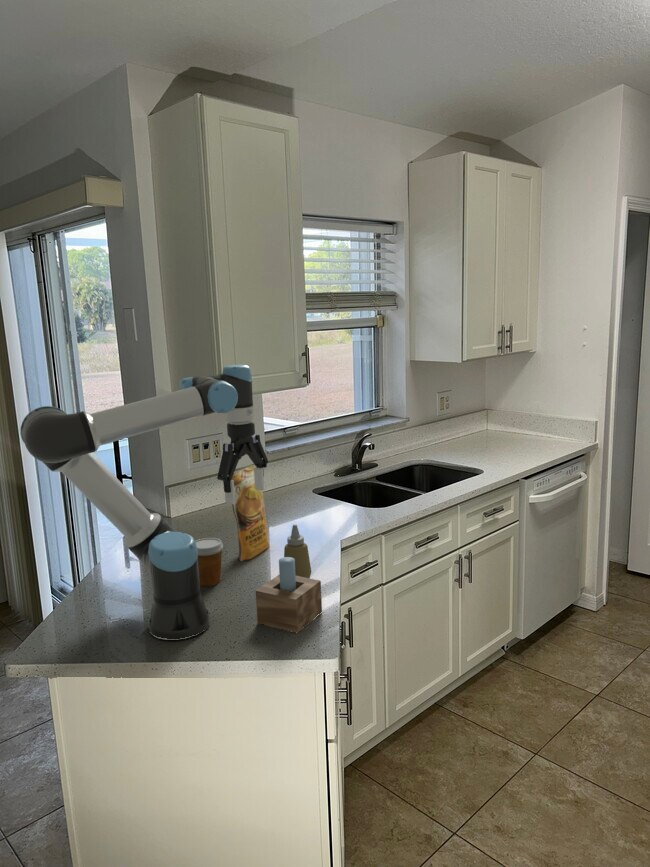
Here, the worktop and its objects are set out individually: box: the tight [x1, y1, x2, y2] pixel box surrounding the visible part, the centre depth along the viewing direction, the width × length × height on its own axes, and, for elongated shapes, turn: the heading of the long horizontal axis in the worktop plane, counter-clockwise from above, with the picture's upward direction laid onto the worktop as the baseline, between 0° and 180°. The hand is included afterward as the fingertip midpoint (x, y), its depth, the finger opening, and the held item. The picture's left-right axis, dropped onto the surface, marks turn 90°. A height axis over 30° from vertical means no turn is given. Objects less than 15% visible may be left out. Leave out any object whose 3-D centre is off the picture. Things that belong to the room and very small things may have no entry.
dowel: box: [278, 556, 296, 592], centre depth 171 cm, size 4×4×14 cm
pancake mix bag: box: [231, 463, 270, 562], centre depth 216 cm, size 7×19×28 cm, turn 153°
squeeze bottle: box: [283, 524, 312, 579], centre depth 191 cm, size 8×8×18 cm
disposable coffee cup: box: [195, 537, 224, 587], centre depth 196 cm, size 10×10×12 cm
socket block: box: [255, 573, 323, 634], centre depth 172 cm, size 12×12×9 cm
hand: (245, 496), depth 188 cm, fingers open, 13 cm apart
